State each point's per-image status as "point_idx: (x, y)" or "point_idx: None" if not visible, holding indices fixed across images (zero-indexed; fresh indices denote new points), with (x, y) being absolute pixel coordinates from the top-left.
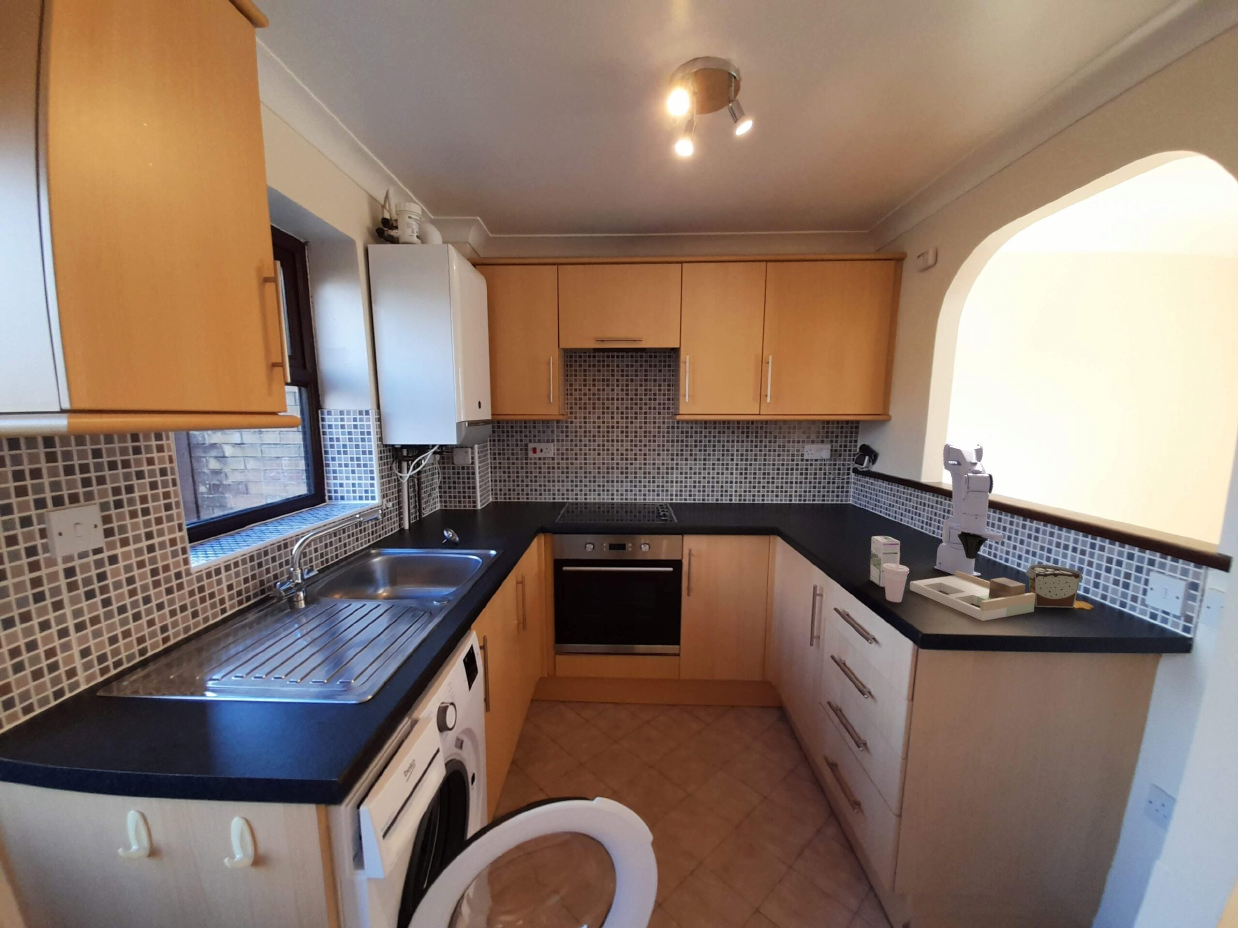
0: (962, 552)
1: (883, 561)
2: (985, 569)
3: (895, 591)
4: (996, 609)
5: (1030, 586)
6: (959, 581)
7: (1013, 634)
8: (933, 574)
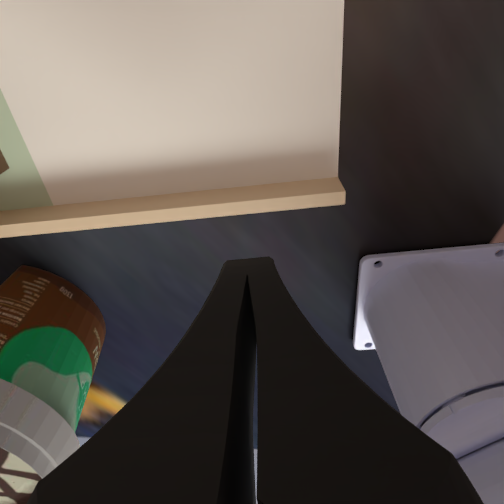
0: (442, 378)
1: None
2: (391, 399)
3: None
4: None
5: (13, 328)
6: (240, 102)
7: None
8: (468, 155)
